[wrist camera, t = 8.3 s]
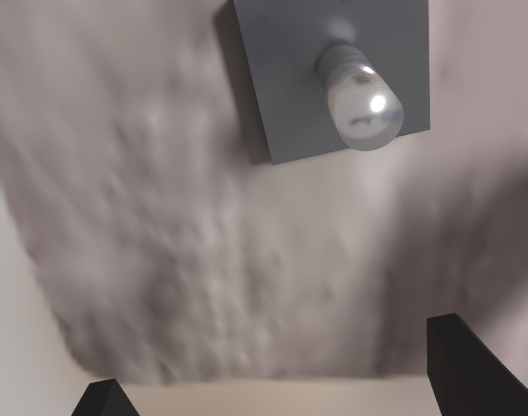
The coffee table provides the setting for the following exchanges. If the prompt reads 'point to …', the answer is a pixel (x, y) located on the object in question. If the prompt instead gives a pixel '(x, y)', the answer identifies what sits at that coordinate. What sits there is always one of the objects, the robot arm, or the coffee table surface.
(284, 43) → the grey base with peg
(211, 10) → the coffee table surface
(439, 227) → the coffee table surface
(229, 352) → the coffee table surface
